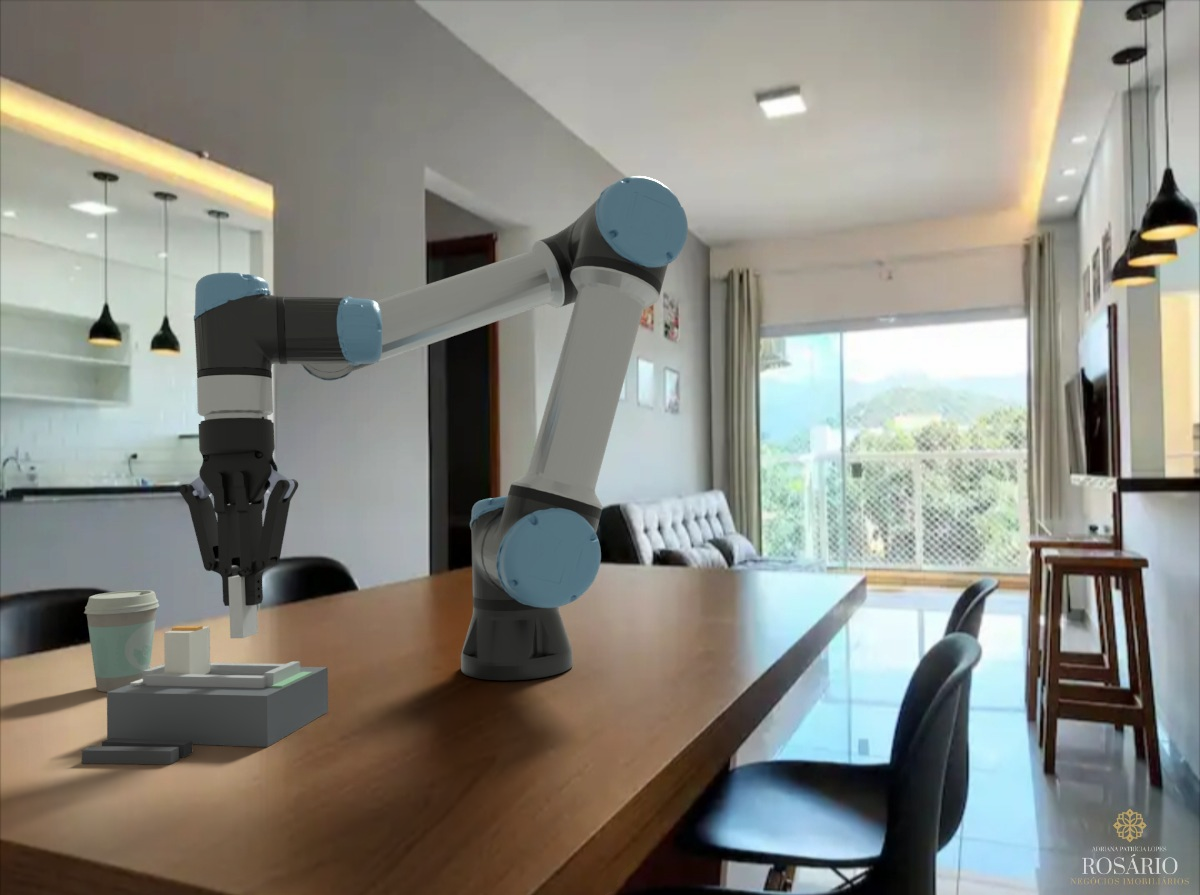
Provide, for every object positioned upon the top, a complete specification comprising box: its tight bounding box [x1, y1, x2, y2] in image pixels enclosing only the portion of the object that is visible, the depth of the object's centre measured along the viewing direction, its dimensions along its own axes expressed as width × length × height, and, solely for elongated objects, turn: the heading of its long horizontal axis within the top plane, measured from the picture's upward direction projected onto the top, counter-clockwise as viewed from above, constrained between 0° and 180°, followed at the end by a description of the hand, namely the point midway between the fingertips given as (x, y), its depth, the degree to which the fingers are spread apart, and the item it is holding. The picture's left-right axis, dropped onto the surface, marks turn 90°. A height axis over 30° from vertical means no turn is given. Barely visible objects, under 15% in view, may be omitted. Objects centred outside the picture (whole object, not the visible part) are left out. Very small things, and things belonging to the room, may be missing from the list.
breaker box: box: [106, 661, 329, 748], centre depth 88 cm, size 18×12×6 cm, turn 80°
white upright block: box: [163, 625, 211, 674], centre depth 89 cm, size 3×3×5 cm
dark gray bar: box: [81, 745, 180, 765], centre depth 78 cm, size 9×1×1 cm, turn 84°
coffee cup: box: [83, 589, 160, 693], centre depth 107 cm, size 8×8×12 cm
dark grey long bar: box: [101, 738, 194, 758], centre depth 80 cm, size 9×1×1 cm, turn 80°
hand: (244, 635), depth 89 cm, fingers closed
